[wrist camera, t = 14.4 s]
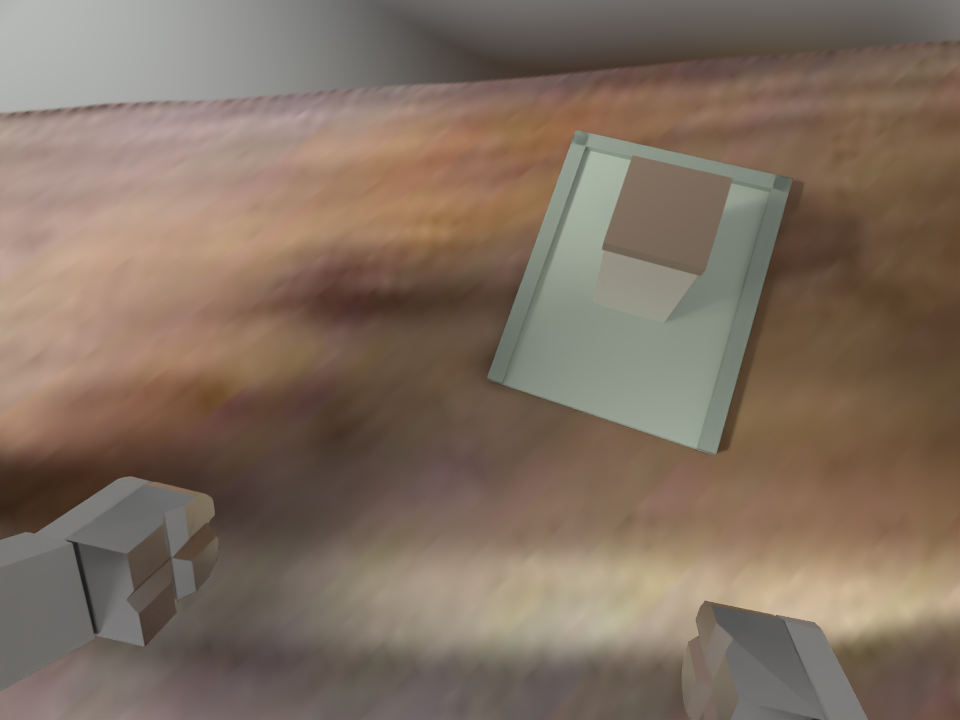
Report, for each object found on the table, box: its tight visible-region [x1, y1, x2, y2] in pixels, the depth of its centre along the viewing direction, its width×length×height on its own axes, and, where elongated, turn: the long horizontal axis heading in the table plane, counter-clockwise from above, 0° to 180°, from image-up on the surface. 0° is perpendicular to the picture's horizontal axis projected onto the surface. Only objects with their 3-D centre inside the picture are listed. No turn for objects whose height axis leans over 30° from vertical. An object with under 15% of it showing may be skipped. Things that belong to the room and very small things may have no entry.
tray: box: [487, 130, 793, 455], centre depth 33 cm, size 14×18×1 cm
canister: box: [592, 155, 733, 323], centre depth 29 cm, size 5×5×9 cm
